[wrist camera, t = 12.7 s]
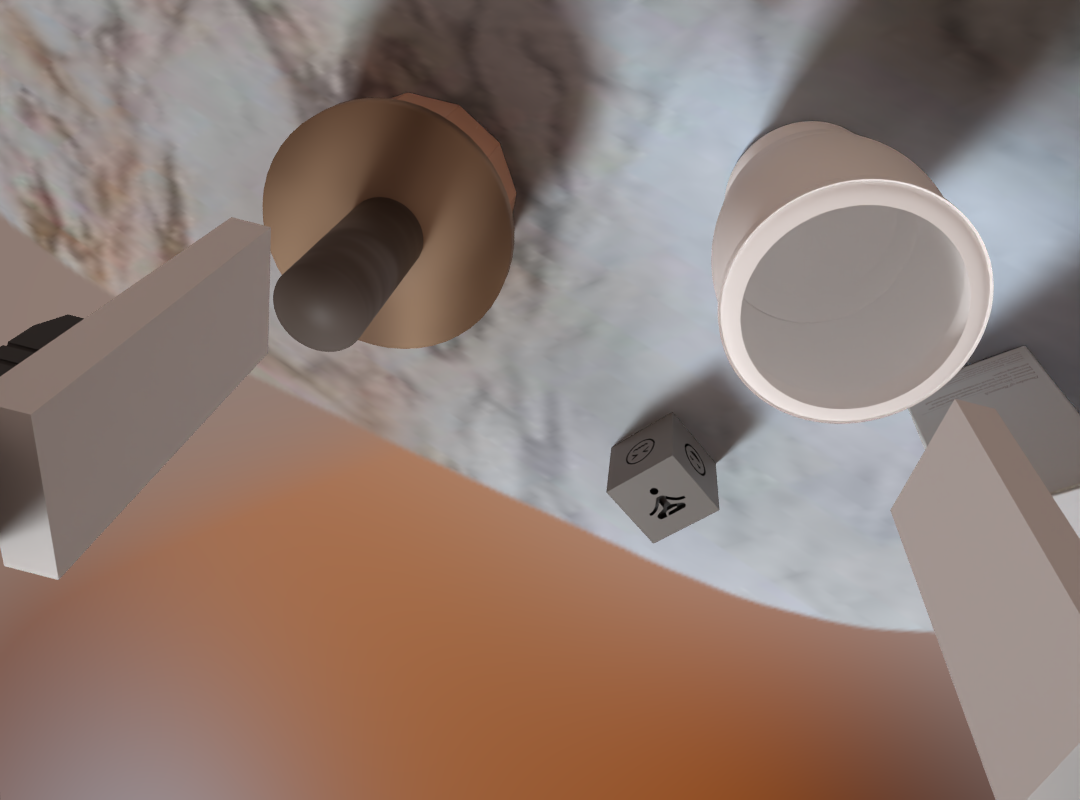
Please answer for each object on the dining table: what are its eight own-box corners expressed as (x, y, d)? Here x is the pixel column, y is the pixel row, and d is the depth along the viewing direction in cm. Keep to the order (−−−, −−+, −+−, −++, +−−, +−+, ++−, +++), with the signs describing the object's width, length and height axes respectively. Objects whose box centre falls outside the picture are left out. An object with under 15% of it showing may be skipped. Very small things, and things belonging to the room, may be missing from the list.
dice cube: (654, 495, 56) (653, 543, 52) (611, 447, 55) (606, 492, 50) (715, 463, 54) (719, 510, 50) (672, 411, 52) (672, 455, 48)
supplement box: (896, 388, 49) (958, 520, 39) (1026, 341, 47) (1132, 469, 36) (933, 477, 52) (1000, 623, 42) (1057, 438, 50) (1163, 582, 39)
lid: (537, 133, 39) (497, 197, 30) (491, 363, 45) (449, 468, 37) (275, 68, 39) (161, 113, 30) (270, 307, 46) (175, 399, 37)
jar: (685, 133, 43) (689, 224, 31) (887, 70, 40) (985, 143, 28) (727, 307, 48) (747, 448, 35) (912, 262, 45) (1005, 399, 32)
